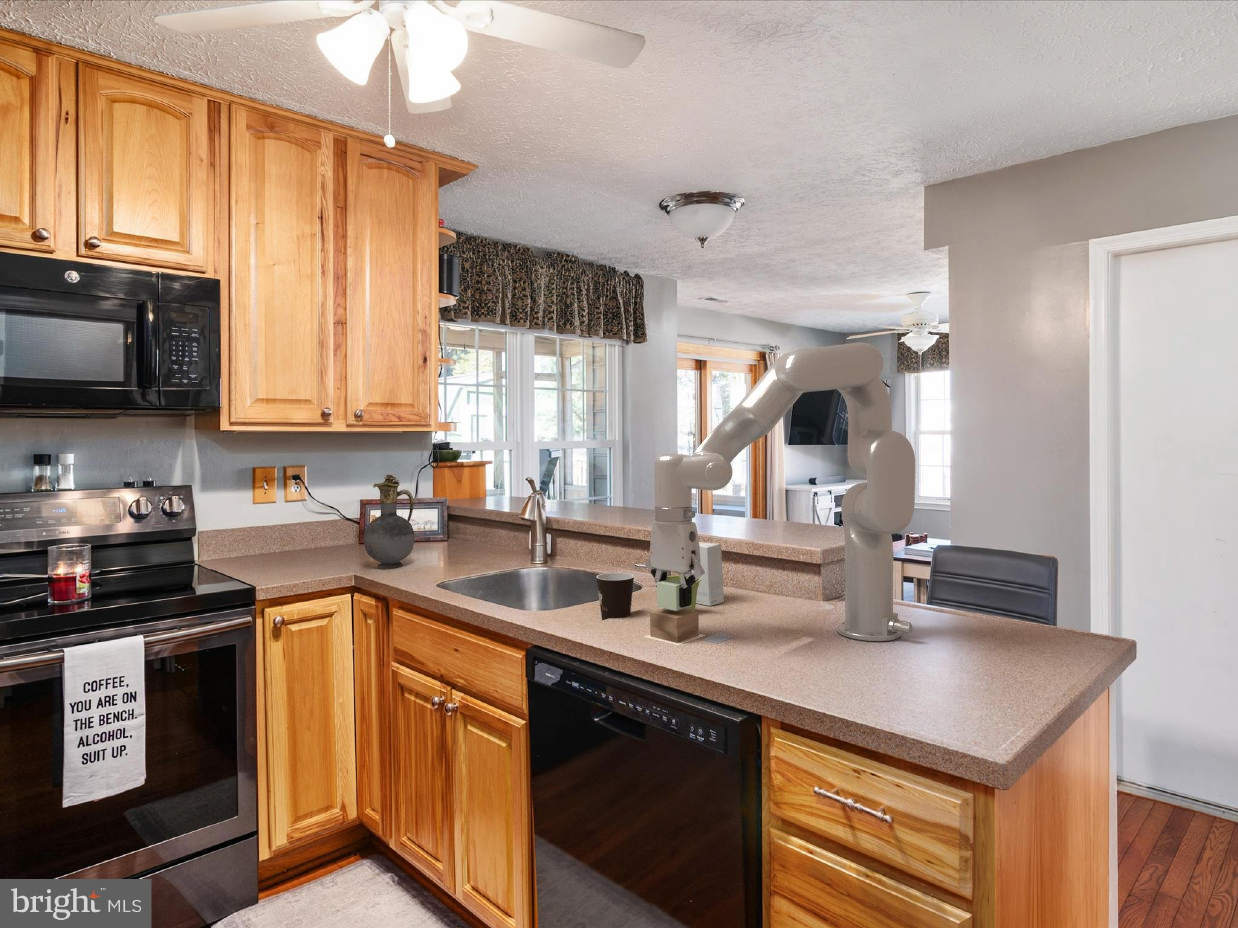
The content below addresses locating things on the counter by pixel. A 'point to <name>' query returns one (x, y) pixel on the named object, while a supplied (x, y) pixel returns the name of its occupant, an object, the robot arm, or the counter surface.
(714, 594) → the skincare box
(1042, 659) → the counter surface
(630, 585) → the coffee mug
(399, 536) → the pitcher
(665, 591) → the sage cube
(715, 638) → the blueprint board
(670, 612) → the walnut block
